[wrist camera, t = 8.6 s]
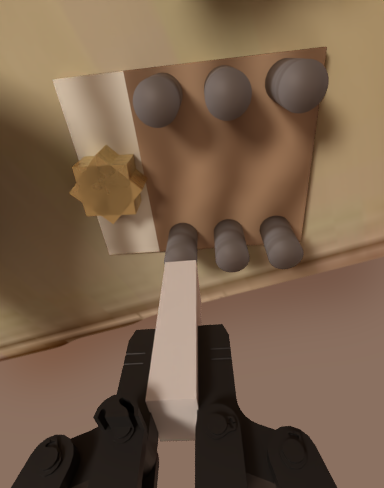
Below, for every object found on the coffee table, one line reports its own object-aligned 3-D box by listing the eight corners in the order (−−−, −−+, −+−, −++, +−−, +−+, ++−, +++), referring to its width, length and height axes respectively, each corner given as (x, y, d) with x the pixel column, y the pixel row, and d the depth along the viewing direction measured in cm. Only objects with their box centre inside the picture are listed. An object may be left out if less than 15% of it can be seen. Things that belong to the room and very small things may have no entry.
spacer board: (111, 250, 34) (96, 283, 29) (57, 78, 24) (20, 85, 19) (298, 237, 33) (315, 270, 28) (322, 47, 23) (356, 45, 18)
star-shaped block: (89, 211, 30) (79, 225, 28) (70, 146, 26) (56, 156, 24) (152, 208, 30) (147, 223, 27) (142, 142, 26) (136, 152, 24)
